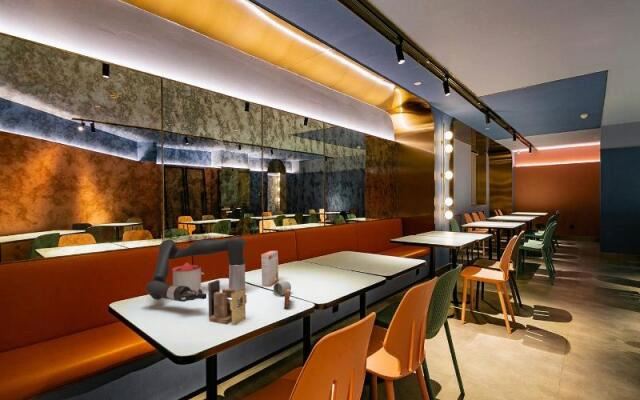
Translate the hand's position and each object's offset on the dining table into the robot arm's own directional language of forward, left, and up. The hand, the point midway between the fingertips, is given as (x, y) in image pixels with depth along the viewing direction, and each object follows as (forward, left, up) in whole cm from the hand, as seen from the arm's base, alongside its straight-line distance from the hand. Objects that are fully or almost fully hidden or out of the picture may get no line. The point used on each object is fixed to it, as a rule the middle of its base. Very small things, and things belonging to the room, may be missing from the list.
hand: (205, 296), depth 153 cm
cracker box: (-21, +56, -9) cm, 60 cm away
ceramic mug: (+2, +46, -10) cm, 47 cm away
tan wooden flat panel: (+19, +7, -9) cm, 22 cm away
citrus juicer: (-36, +8, -9) cm, 38 cm away
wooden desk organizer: (+12, +4, -8) cm, 15 cm away
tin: (+19, +36, -10) cm, 42 cm away
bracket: (+11, +4, -9) cm, 15 cm away
